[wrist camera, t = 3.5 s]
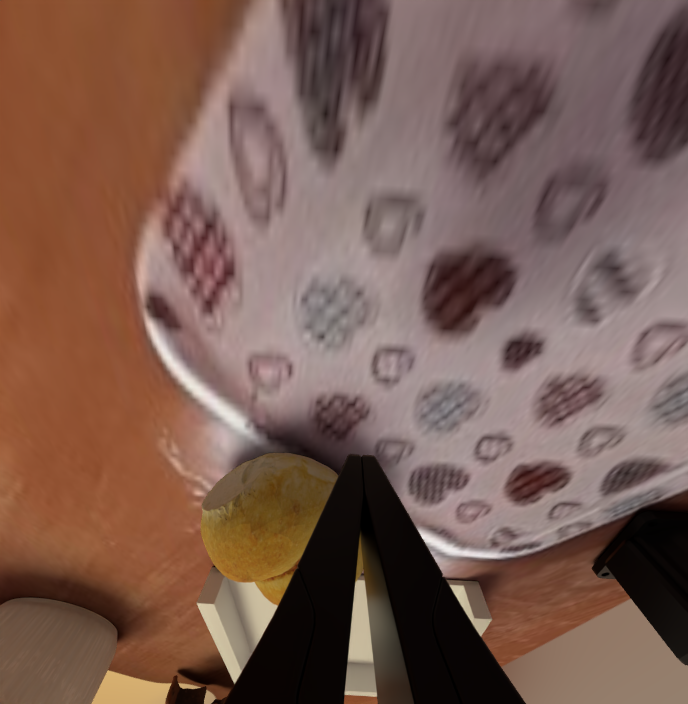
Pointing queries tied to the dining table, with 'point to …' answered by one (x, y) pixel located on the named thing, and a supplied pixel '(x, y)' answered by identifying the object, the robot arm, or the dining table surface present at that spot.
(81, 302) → the dining table surface
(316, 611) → the robot arm
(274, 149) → the dining table surface
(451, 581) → the tray
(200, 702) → the pottery mug
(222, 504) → the bread roll
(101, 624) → the ramekin
